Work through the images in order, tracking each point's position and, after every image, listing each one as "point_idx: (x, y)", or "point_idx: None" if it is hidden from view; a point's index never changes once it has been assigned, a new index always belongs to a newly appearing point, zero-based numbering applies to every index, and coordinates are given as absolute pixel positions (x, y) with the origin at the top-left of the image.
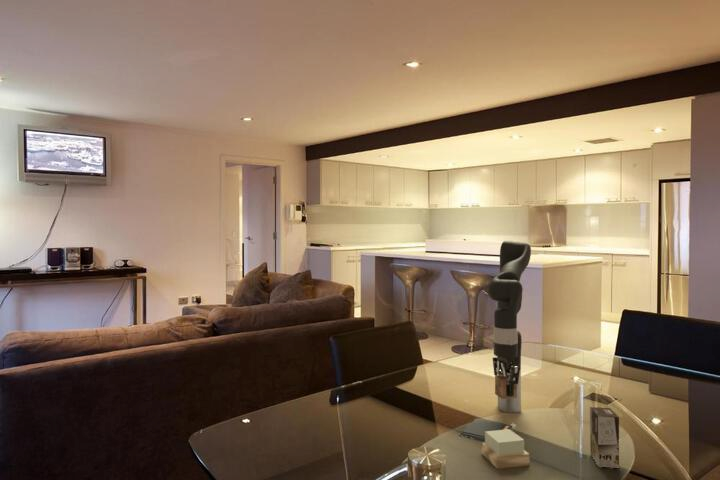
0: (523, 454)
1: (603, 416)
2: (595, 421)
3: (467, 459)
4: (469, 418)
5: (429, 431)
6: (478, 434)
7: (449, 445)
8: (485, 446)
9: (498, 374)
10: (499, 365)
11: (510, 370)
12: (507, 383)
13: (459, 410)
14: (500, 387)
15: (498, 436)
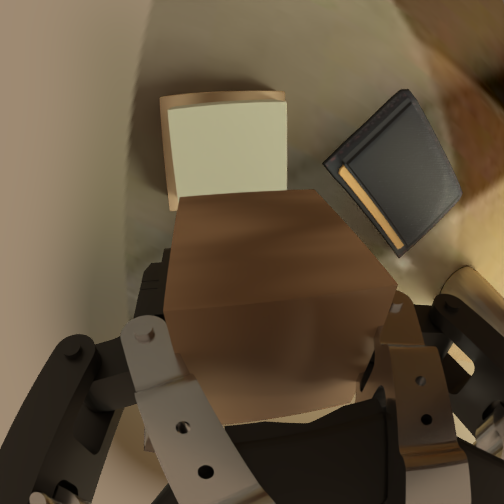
0: (169, 191)
1: (147, 438)
2: None
3: (242, 29)
4: (468, 179)
5: (438, 32)
6: (380, 137)
7: (348, 25)
8: (253, 91)
9: (392, 334)
10: (398, 478)
11: (32, 499)
12: (137, 327)
13: (499, 181)
14: (222, 238)
15: (226, 133)
